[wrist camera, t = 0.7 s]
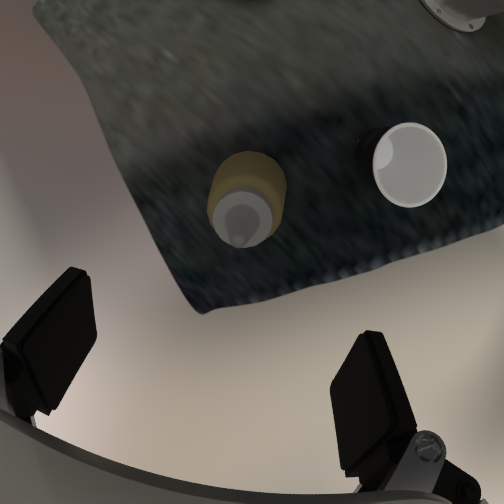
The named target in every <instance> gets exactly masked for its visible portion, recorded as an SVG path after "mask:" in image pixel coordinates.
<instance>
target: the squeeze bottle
mask: <svg viewBox="0 0 504 504" xmlns="http://www.w3.org/2000/svg"><path fill="white" fill-rule="evenodd" d="M286 189H287V184H286V180H285V175H284V172H283V170H282V169H281V168H280V166H279V165H278V164H277V162H276V161H275V160H274V159H272V158H270V157H269V156H267V155H265V154H264V153H261V152H254V151H244V152H240V153H236V154H233V155H232V156H230V157H229V158H228V159H226V160H225V161H224V162H222V163H221V165H220V167H219V168H218V170H217V172H216V174H215V176H214V179H213V183H212V186H211V189H210V193H209V196H208V205H207V214H208V217H209V220H210V223H211V226H212V227H213V228H214V229H215V231H216V233H217V234H218V235H219V236H220V238H221V239H222V240H223V241H224V242H226V243H228V244H230V245H232V246H233V247H235V248H247V247H251V246H256V245H257V244H259V243H260V242H262V241H263V240H265V239H266V238H268V237H269V236H271V235H273V233H274V232H275V230H276V229H277V227H278V226H279V225H280V223H281V219H282V214H283V209H284V202H285V196H286Z"/></svg>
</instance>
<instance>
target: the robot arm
mask: <svg viewBox="0 0 504 504" xmlns="http://www.w3.org/2000/svg"><path fill="white" fill-rule="evenodd" d="M421 2H422V3H423V5H424V6H425V7H426V8H427V10H428V11H429V12H430V13H431V14H432V15H433V16H434V17H435V18H437V19H438V20H439V21H440V22H442V23H443V24H445V25H446V26H448V27H450V28H452V29H454V30H457V31H460V32H473V31H476V30H479V29H480V28H481V27H482V26H483V24H484V23H485V19H486V16H490V15H494V14H498V13H502V12H504V0H421ZM96 338H97V330H96V323H95V317H94V308H93V299H92V289H91V279H90V277H89V276H87V273H86V271H84V270H81V269H78V268H75V267H69V268H68V269H67V270H66V271H65V272H64V273H63V274H62V275H61V276H60V277H59V278H58V279H57V280H56V281H55V282H54V283H53V284H52V285H51V286H50V287H49V288H48V289H47V290H46V291H45V292H44V293H43V295H41V296H40V297H39V299H38V300H37V301H36V302H35V303H34V304H33V305H32V306H31V307H30V308H29V309H28V310H27V311H26V313H25V314H24V315H23V316H22V317H21V318H20V319H19V320H18V322H17V323H16V324H15V325H14V326H13V327H12V328H11V330H10V331H9V332H8V333H7V334H6V336H5V337H4V338H3V342H2V343H1V344H0V504H488V503H487V501H486V500H485V499H482V500H480V498H481V488H480V485H479V483H478V482H477V480H476V479H474V478H473V477H472V476H470V475H469V474H467V473H466V472H464V471H462V470H461V469H460V468H458V467H457V466H455V465H454V464H452V463H451V462H449V461H448V460H446V459H445V457H446V447H445V444H444V442H443V440H442V439H441V438H440V437H439V436H438V435H437V434H435V433H433V432H431V431H426V430H423V431H419V432H417V429H416V427H417V424H416V421H415V418H414V415H413V412H412V409H411V406H410V403H409V400H408V397H407V395H406V392H405V389H404V386H403V384H402V381H401V378H400V376H399V373H398V370H397V368H396V365H395V362H394V360H393V357H392V355H391V352H390V350H389V347H388V345H387V342H386V340H385V338H384V335H383V334H382V333H381V332H376V331H369V330H366V331H365V332H364V333H363V334H360V335H359V336H358V337H357V339H356V341H355V343H354V345H353V347H352V348H351V350H350V352H349V354H348V355H347V357H346V359H345V361H344V362H343V364H342V366H341V368H340V369H339V371H338V373H337V375H336V376H335V378H334V379H333V381H332V383H331V386H330V396H331V402H332V409H333V415H334V422H335V429H336V436H337V443H338V451H339V459H340V466H341V469H342V470H345V477H359V482H360V484H359V485H358V486H357V488H356V489H355V491H354V492H353V493H347V494H277V493H263V492H252V491H243V490H234V489H227V488H220V487H214V486H208V485H202V484H197V483H192V482H187V481H183V480H178V479H173V478H169V477H165V476H162V475H158V474H154V473H150V472H147V471H143V470H140V469H137V468H134V467H130V466H127V465H124V464H121V463H118V462H115V461H112V460H110V459H107V458H104V457H101V456H99V455H96V454H94V453H91V452H89V451H86V450H84V449H81V448H79V447H77V446H74V445H72V444H70V443H68V442H65V441H63V440H61V439H59V438H57V437H55V436H52V435H50V434H48V433H46V432H44V431H42V430H40V429H38V428H37V427H36V423H35V419H34V414H35V412H36V411H37V410H38V411H40V412H42V413H44V414H46V415H48V416H49V414H50V412H51V411H52V410H56V408H57V407H58V405H59V404H60V402H61V400H62V398H63V396H64V394H65V393H66V391H67V389H68V387H69V386H70V384H71V382H72V380H73V379H74V377H75V375H76V373H77V372H78V370H79V368H80V366H81V365H82V363H83V362H84V360H85V358H86V356H87V355H88V353H89V351H90V350H91V348H92V347H93V345H94V343H95V341H96Z"/></svg>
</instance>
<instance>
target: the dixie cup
mask: <svg viewBox="0 0 504 504" xmlns="http://www.w3.org/2000/svg"><path fill="white" fill-rule="evenodd" d="M356 155H357V158H358V161H359V163H360V164H361V165H362V167H363V168H364V169H365V170H366V171H367V172H368V173H369V175H370V176H371V177H372V178H373V179H374V180H375V182H376V184H377V186H378V188H379V190H380V191H381V193H382V194H383V195H384V196H385V197H386V198H387V199H388V200H389V201H391V202H392V203H394V204H396V205H399V206H402V207H417V206H420V205H423V204H425V203H427V202H428V201H430V200H431V199H432V198H433V197H434V196H435V195H436V194H437V193H438V192H439V190H440V189H441V187H442V185H443V183H444V180H445V176H446V171H447V159H446V153H445V150H444V147H443V145H442V143H441V141H440V140H439V138H438V137H437V136H436V135H435V133H434V132H432V131H431V130H430V129H429V128H427V127H425V126H423V125H421V124H417V123H402V124H399V125H396V126H394V127H386V128H378V129H371V130H368V131H366V132H365V133H364V134H362V136H361V137H360V138H359V140H358V142H357V145H356Z"/></svg>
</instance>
